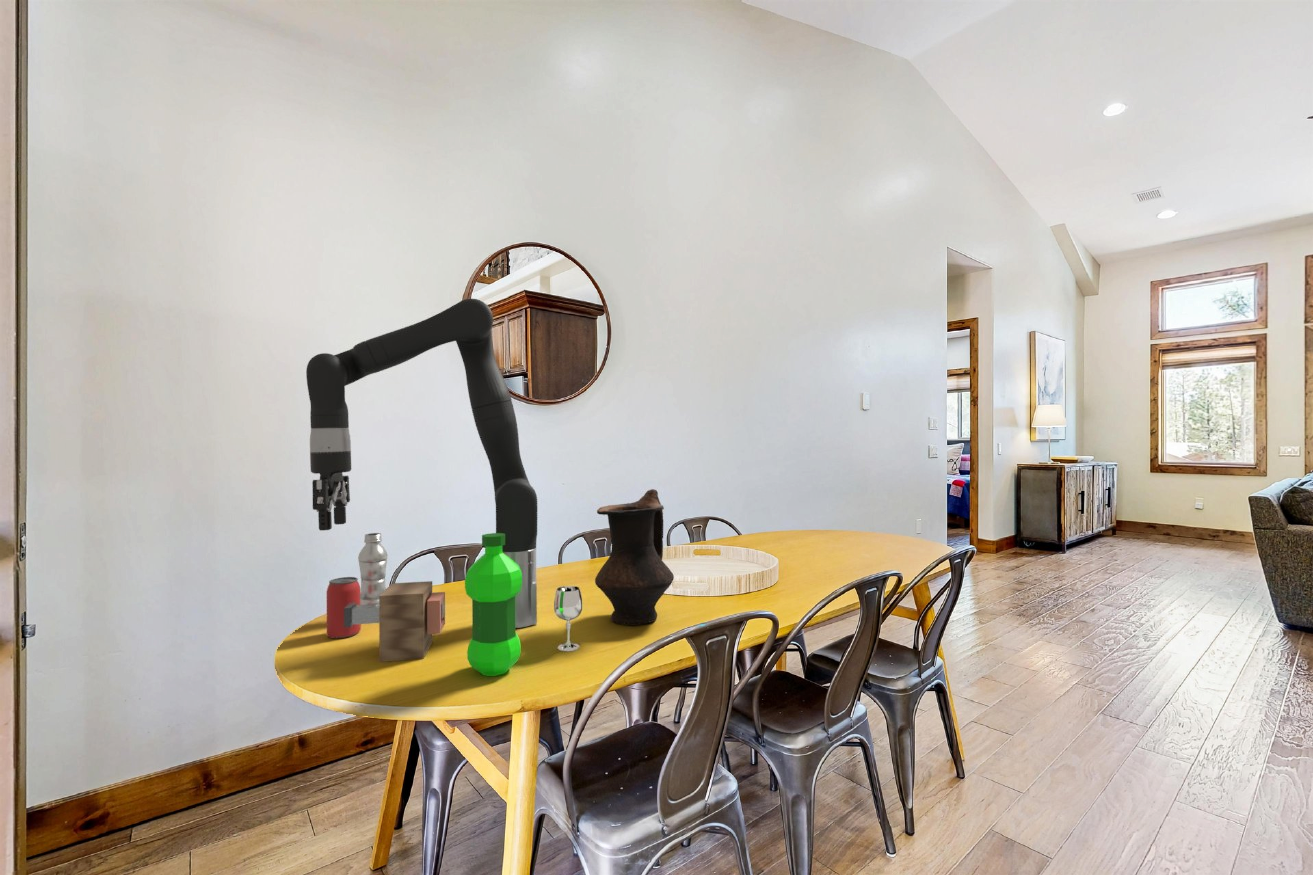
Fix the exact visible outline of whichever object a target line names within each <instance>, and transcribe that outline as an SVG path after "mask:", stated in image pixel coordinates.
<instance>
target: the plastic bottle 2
mask: <svg viewBox="0 0 1313 875" xmlns="http://www.w3.org/2000/svg"><path fill="white" fill-rule="evenodd" d="M502 545H505V534H503V533H496V532H493V533H484V534H482V535H481V546H482V547H484V554H483V555H482V556H480V557H479V558H478V559H477V560H476V561H475V562H474V563H473V564H472V565H471V566H470V567H469V568H468V570H467V573H466V575H465V578H464V589H465V593H466V595H467V596H468V598H470V599H471V601H472V602H471V604H472V607H471V608H472V610H471V612H472V613H471V614H472V617H471V618H472V619H471V620H472V626H471V627H472V635H471V636H472V637H471V638H470V640H469V644H468V647H467V650H466V654H467V655H466V656H467V657H466V659H467V662H468V664H469V665H470V666H471V667H472V668H473V669H474V670H476V671H477V672H479V673H480V675H483V676H487V677H489V676H490V677H496V676H499V675H500V676H501V675H503V674H506V673H507V672H508V671H510V670H509V669H511V668H512V667H513V666H514V665H515V664H516V663H517V662H518V661H519V658H520V656H521V652H522V648H521V647H522V646H521V640H520V638H519V635H518V633H517V632H516V628H515V596H516V595H517V594H518V593H519V592H520V591H521V586H522V572H521V570H520V567H519V565H517V564H516V563H515V562H514V561H513V560H512V559H511V558H509V557H508V556H507V555H505V554H504V553H502Z"/></svg>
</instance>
